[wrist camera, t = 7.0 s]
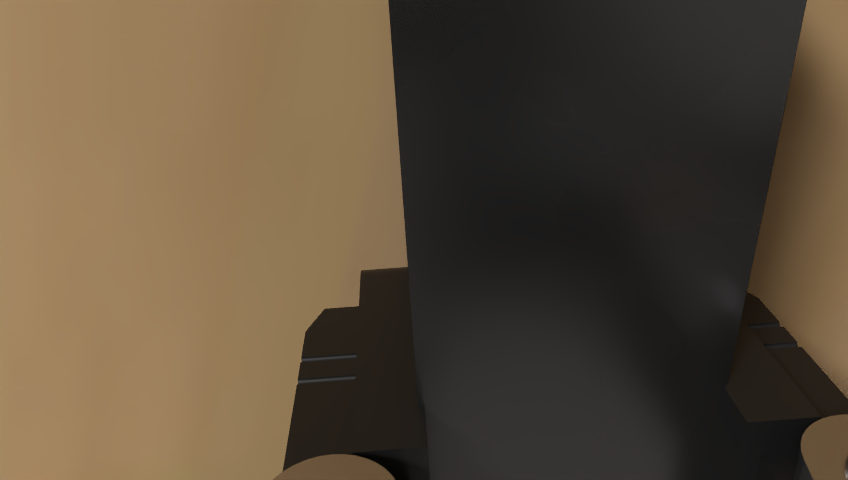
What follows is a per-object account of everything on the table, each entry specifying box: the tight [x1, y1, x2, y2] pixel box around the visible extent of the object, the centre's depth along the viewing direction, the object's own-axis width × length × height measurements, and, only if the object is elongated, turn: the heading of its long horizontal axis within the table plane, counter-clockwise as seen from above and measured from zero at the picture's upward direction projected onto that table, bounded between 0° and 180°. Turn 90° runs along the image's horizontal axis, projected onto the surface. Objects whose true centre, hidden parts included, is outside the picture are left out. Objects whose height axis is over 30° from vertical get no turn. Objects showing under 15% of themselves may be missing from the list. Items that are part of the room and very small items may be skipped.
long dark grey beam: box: [389, 0, 807, 480], centre depth 9 cm, size 6×13×4 cm, turn 3°
